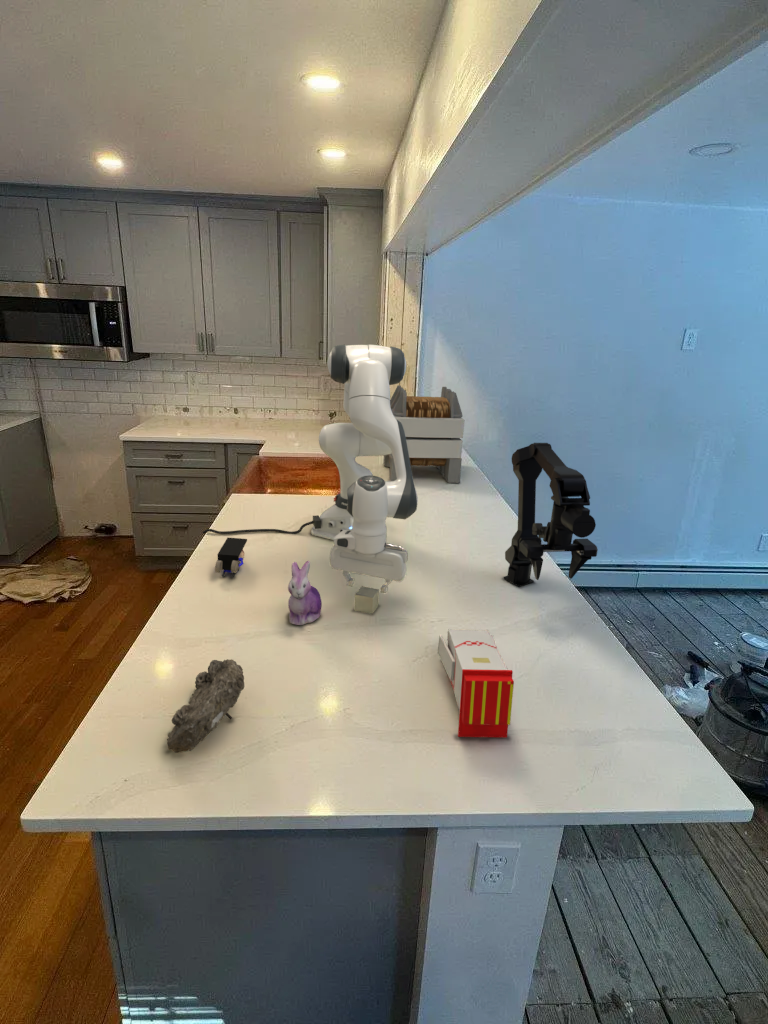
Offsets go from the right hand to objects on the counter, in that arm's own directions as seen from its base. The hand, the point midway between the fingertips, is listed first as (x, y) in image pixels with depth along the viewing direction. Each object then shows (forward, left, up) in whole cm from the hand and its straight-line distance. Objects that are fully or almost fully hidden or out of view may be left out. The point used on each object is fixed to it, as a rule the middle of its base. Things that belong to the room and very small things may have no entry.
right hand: (553, 578), depth 146 cm
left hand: (+40, -27, -5) cm, 48 cm away
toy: (+39, +14, -11) cm, 43 cm away
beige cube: (+40, -27, -11) cm, 49 cm away
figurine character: (+63, -65, -11) cm, 91 cm away
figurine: (+56, -30, -11) cm, 65 cm away
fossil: (+87, -6, -11) cm, 88 cm away
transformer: (-51, -126, -11) cm, 136 cm away
